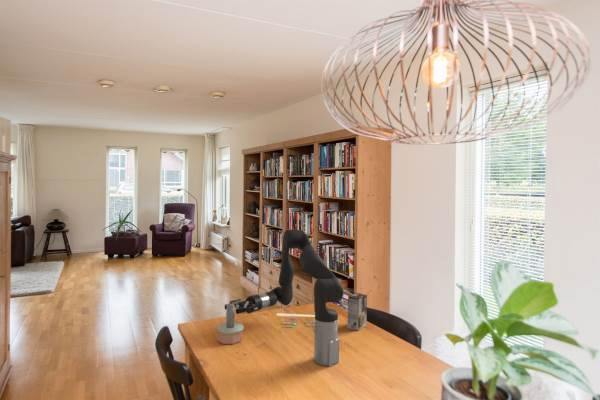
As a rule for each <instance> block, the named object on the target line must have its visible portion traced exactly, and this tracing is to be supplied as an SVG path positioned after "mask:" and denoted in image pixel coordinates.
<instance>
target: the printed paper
mask: <svg viewBox="0 0 600 400" xmlns="http://www.w3.org/2000/svg"><path fill="white" fill-rule="evenodd" d="M276 315H277V316H276V317H285V320H284V322H281V325H285V326H282V327H283V328H287V327H290V328H291V329H292V328H293V329H294V328H296V327H295V326H296V325H297V324H298V321H297V319H298V318H297V317H303V318H305V317H312V318H315V314H301V313H300V314H299V313H297V314H296V313H281V312H277V313H276ZM291 317H292V318H291ZM286 319H290V320H286ZM286 322H287V323H286ZM304 324H305V325H304V326H308V324H312V327H311V328H306V327H303V328H302V329H306V330H310V329H311V330H315V319H312V321H309V319H306V321H305V320H304ZM287 325H288V326H287Z"/></svg>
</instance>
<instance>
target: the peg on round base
mask: <svg viewBox="0 0 600 400" xmlns="http://www.w3.org/2000/svg"><path fill="white" fill-rule="evenodd" d="M226 304H227V307H226V309H225V310H226V314H225V315H226V317H225V318H226V320H225V321H226V322H223V323H220V324H218V325H217V326H216V332H217V333H218V332H219V333H223V334H235V333H239V332H241V331H242V332H243V331H244V329H245V327H244V325H243V324H242V323H241V322H240V323H239V322H235V313H236V308H235V305H234V304H230V303H226Z"/></svg>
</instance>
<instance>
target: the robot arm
mask: <svg viewBox="0 0 600 400" xmlns="http://www.w3.org/2000/svg"><path fill="white" fill-rule="evenodd" d="M281 243H282V244H281V245H282V246H281V247H282V248H281V264H280V271H279V277H278V285H279V286H276V287H273V289H271V290H269V291H267V292H261V293H256V294H254V295H249V296H247V298H246V299H244V300H243V299H242V300H241V298H238V299H234V300H230V301H229V304H234V305H235V314H236V315H239V314H242V313H244V314H246V313H247V314H252V313H254V312H258V311H261V310H264V309H266V308H269V307H274V306H275V305H276V304H277V303H280V304H281V305H282V306H287V305H289V304H291V302H292V301H293V297H294V292H293V289H294V287H293V281H294V276H295V267H294V265H293V262H292V259H291V256H290V249H295V250H296V249H299V250H301V252H300V254H299V255H300V256H299V263H300V264H299V265H300V266H301V268H302V269H303V271H304V272H305V273H306V274H307V275H308V276H310V277H312V278H313V279H316V281H315V282H314V284H313V285H314V286H313V301H314V302H313V305H314V306H313V307H314V308H313V309H314V310H313V311H314V315H315V317H314V320H315V321H314V322H315V323H314V325H315V326H314V328H315V329H314V344H313V347H314V352H313V358H314V359H313V361H314V363H316V364H318V365H320V366H326V367H332V366H334V365H335V364H338V363H340V338H339V337H338V331H339V329H338V328H339V323H338V322H339V313H338V311H337V310H335V309H334V308H329V307H327V303H335V302H339V301H341V300H342V299H343V298H344V294H345V293H344V288H343V284H342V283H341V281H340V279H338V276H336V275H335V274H334V273H333V272H332V271H331V269H329V267H328V266H327V264H325V262H324V260H323V259H322V257H321V256H320V255H319V253H318V252H317V250H316V249H315V248H314V246H313V244H312V243H311V241H310V239H309V237H308V234H307V233H306V232H305V231H304V230H301V229H300V230H299V229H286V230H285V231H284V233H283V236H282V242H281ZM227 304H228V303H226V304H224V310H226V307H227Z"/></svg>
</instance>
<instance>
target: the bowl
mask: <svg viewBox="0 0 600 400" xmlns="http://www.w3.org/2000/svg"><path fill="white" fill-rule="evenodd" d="M242 338H243V331H241V332H239V333H235V334H223V333H219V332H218V331H217V342H219V343H220V344H223V345H234V344H238V343H240V342H241V341H242Z"/></svg>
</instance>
